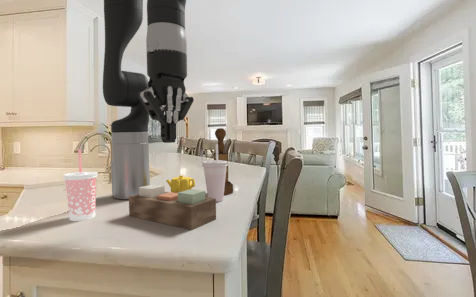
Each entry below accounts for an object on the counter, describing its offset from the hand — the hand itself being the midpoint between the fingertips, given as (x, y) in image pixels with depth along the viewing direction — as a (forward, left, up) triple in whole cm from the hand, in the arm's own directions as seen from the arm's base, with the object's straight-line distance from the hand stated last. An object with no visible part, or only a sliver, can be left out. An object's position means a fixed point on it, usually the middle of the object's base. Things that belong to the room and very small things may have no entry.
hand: (168, 142), depth 56 cm
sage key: (+6, 0, -12) cm, 14 cm away
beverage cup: (-16, -9, -15) cm, 24 cm away
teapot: (-14, +17, -15) cm, 27 cm away
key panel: (0, 0, -15) cm, 15 cm away
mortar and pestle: (-5, +24, -15) cm, 29 cm away
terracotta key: (0, 0, -13) cm, 13 cm away
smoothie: (-1, +16, -15) cm, 22 cm away
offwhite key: (-5, 0, -12) cm, 13 cm away
